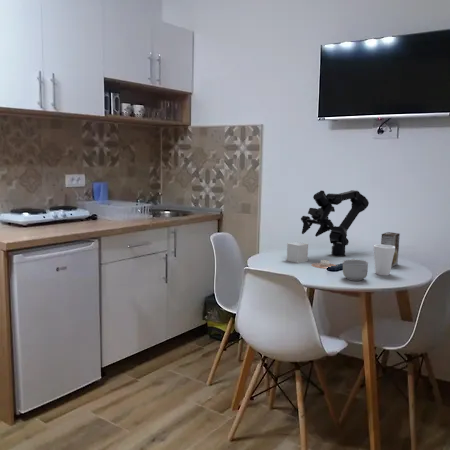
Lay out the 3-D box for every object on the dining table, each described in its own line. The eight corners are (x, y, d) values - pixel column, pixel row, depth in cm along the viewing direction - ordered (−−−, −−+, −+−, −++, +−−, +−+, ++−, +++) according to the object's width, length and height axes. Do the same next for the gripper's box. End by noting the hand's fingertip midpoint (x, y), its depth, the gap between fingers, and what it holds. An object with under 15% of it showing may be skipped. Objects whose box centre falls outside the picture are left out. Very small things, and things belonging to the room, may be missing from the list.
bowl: (327, 264, 227) (328, 260, 227) (329, 266, 223) (330, 261, 223) (319, 264, 227) (320, 259, 227) (321, 266, 223) (321, 261, 223)
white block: (296, 259, 240) (297, 242, 239) (307, 261, 234) (308, 244, 233) (286, 260, 236) (287, 243, 234) (297, 263, 230) (298, 245, 229)
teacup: (366, 283, 196) (367, 265, 195) (340, 280, 199) (341, 262, 198) (367, 276, 209) (368, 258, 208) (343, 273, 212) (344, 256, 211)
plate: (334, 264, 232) (334, 263, 232) (341, 270, 219) (341, 269, 219) (308, 263, 232) (308, 262, 232) (314, 269, 219) (314, 268, 219)
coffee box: (385, 262, 240) (387, 231, 237) (397, 264, 236) (400, 233, 233) (378, 265, 233) (381, 233, 230) (391, 267, 228) (394, 235, 226)
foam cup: (379, 276, 208) (381, 248, 207) (367, 271, 217) (369, 244, 215) (397, 275, 211) (399, 247, 209) (385, 270, 220) (387, 244, 218)
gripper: (303, 200, 246) (288, 222, 241) (331, 203, 232) (315, 227, 227) (312, 214, 252) (298, 236, 247) (340, 218, 238) (325, 241, 233)
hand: (308, 234), depth 238 cm, fingers open, 9 cm apart
